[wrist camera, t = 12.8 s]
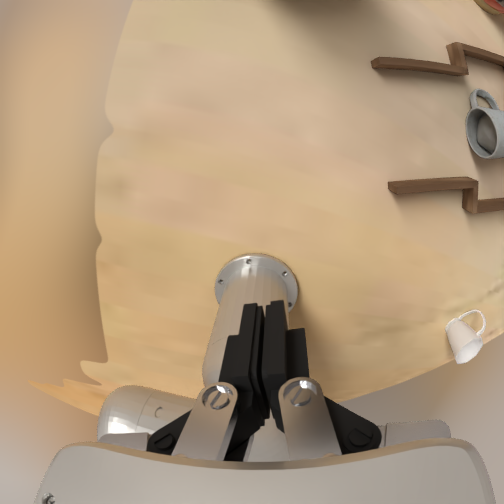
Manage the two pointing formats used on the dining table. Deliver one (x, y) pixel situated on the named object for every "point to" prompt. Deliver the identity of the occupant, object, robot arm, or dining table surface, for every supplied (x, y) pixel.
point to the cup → (464, 338)
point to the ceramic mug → (485, 127)
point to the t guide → (456, 69)
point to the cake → (491, 6)
